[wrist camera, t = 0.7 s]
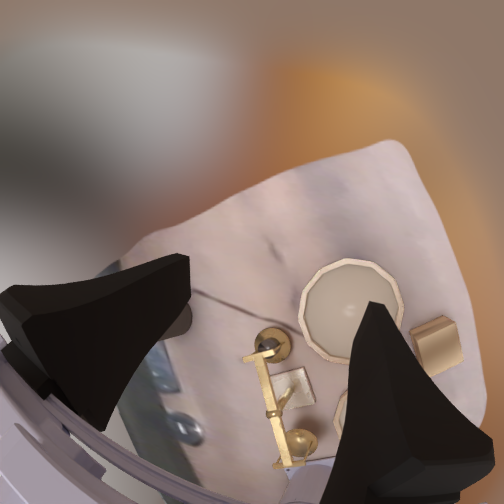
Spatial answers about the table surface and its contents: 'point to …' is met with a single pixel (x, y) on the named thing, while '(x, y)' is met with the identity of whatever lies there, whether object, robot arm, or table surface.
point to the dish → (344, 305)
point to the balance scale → (283, 396)
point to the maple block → (437, 345)
